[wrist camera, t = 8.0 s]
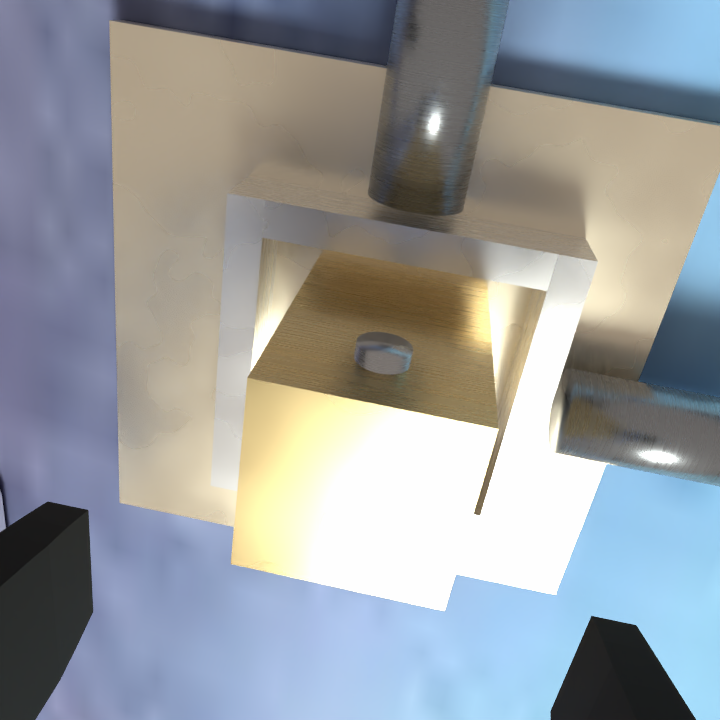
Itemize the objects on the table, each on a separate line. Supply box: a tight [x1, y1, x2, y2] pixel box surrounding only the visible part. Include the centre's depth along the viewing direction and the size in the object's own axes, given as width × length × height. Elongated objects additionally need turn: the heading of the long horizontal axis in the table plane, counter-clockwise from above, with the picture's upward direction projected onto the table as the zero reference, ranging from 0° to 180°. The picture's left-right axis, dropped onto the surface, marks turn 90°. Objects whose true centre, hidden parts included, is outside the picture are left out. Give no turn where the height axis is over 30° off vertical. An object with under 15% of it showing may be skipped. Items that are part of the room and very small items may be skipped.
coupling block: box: [231, 257, 498, 611], centre depth 14 cm, size 4×5×6 cm
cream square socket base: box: [109, 0, 720, 594], centre depth 16 cm, size 16×15×3 cm
